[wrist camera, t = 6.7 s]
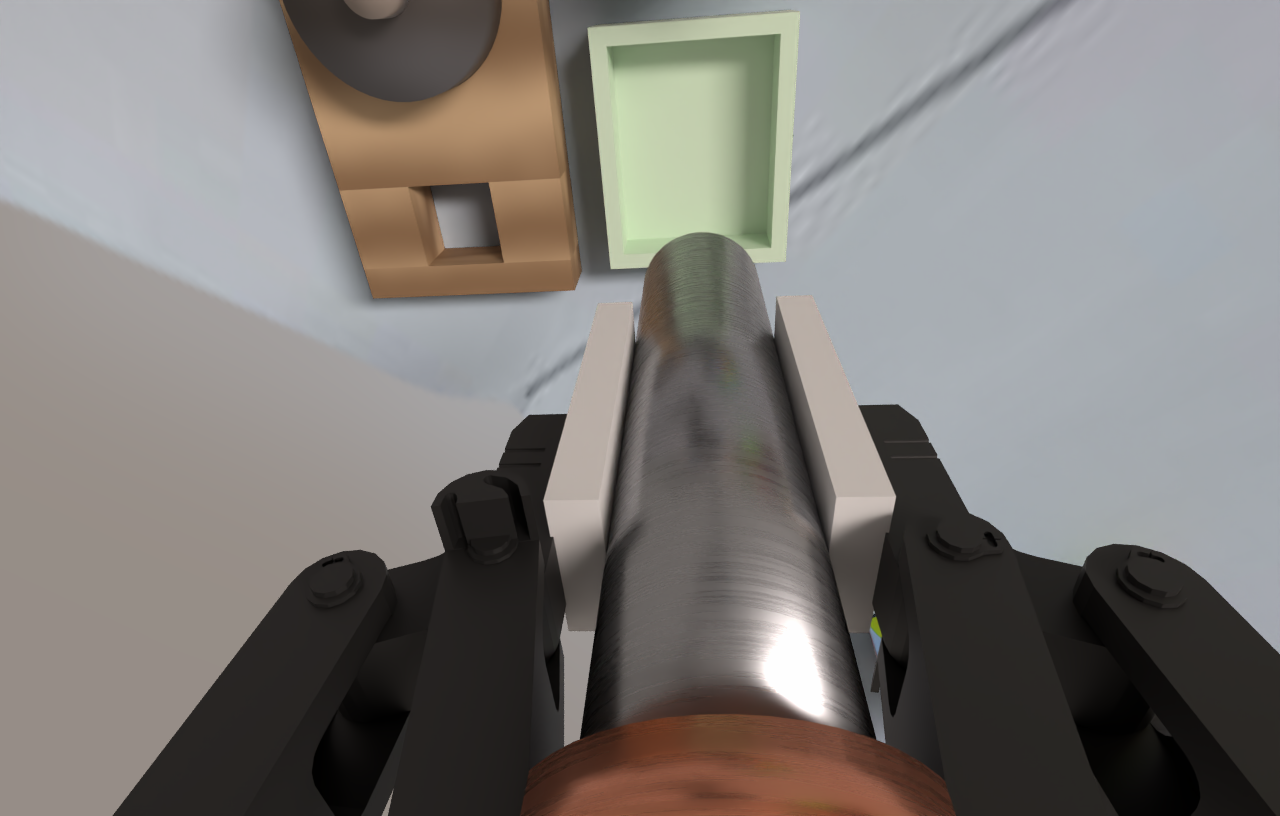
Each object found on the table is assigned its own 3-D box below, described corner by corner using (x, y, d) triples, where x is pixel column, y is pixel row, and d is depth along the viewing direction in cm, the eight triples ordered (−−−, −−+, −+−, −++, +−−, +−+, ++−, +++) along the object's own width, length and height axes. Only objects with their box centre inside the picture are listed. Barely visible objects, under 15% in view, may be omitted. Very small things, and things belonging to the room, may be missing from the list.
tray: (595, 24, 32) (587, 27, 29) (790, 9, 31) (800, 11, 29) (615, 250, 38) (610, 269, 36) (778, 242, 37) (785, 261, 35)
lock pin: (616, 213, 17) (411, 879, 4) (784, 205, 17) (1111, 907, 4) (628, 359, 19) (520, 1065, 7) (776, 355, 19) (962, 1094, 6)
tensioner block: (271, -135, 29) (168, -166, 23) (529, -161, 28) (488, -201, 22) (392, 279, 40) (342, 328, 34) (581, 270, 39) (563, 320, 33)
